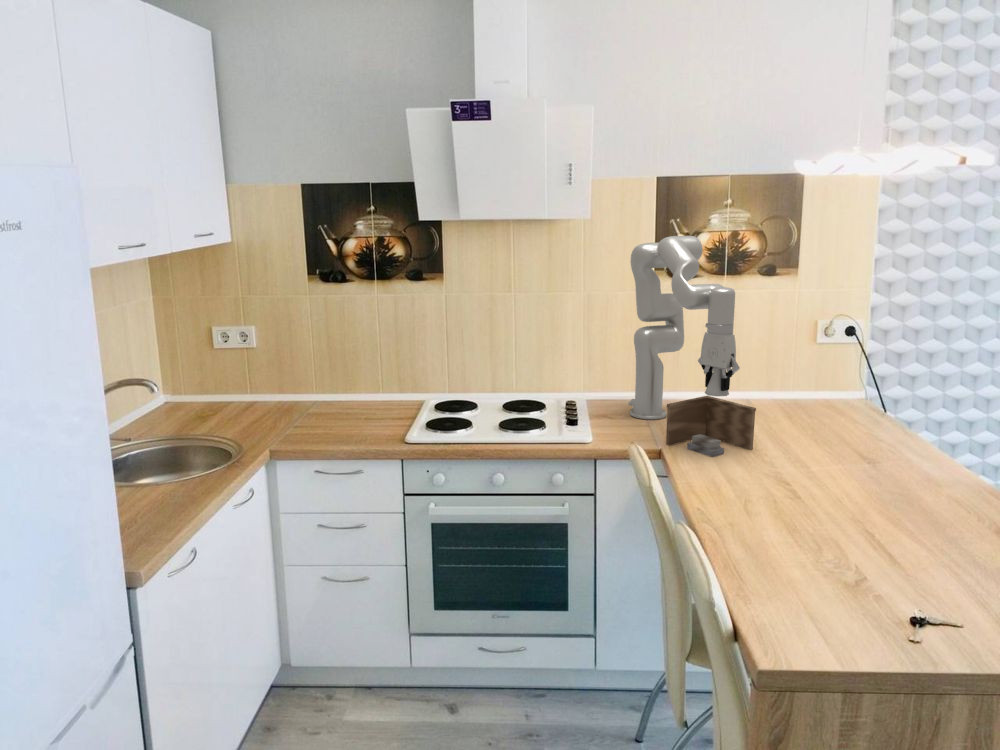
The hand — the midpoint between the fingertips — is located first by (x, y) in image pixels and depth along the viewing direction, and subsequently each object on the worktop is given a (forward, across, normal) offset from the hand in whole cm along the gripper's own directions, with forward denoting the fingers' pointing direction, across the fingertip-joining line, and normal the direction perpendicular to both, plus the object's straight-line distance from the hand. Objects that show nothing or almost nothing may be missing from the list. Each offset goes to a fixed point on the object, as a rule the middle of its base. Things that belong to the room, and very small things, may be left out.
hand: (717, 387), depth 259 cm
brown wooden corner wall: (+19, -2, 0) cm, 19 cm away
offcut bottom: (+20, 0, -4) cm, 20 cm away
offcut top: (+18, 0, -4) cm, 18 cm away
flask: (+2, 0, 0) cm, 2 cm away
